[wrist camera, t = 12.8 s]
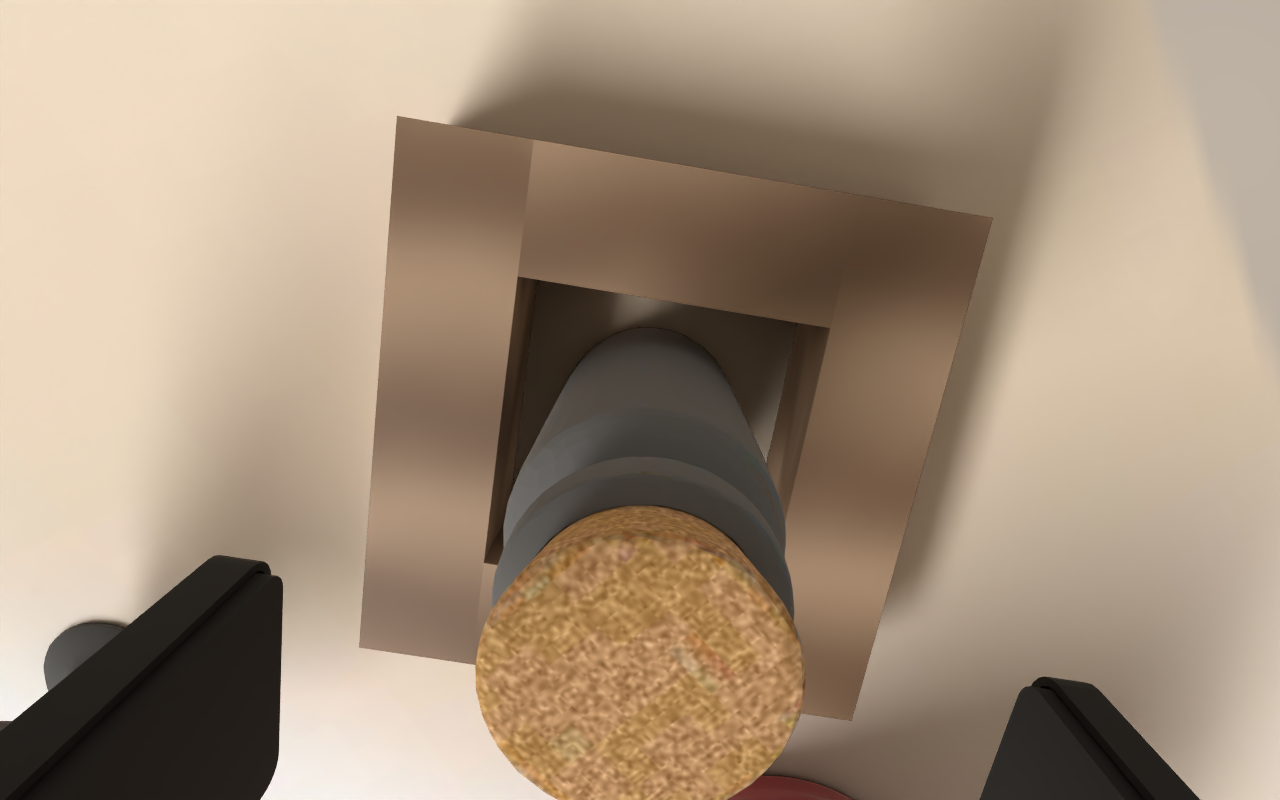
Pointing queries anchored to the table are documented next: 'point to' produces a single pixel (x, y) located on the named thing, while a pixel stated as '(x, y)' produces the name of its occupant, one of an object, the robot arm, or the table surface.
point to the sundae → (73, 651)
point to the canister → (786, 790)
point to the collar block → (670, 271)
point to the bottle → (643, 588)
